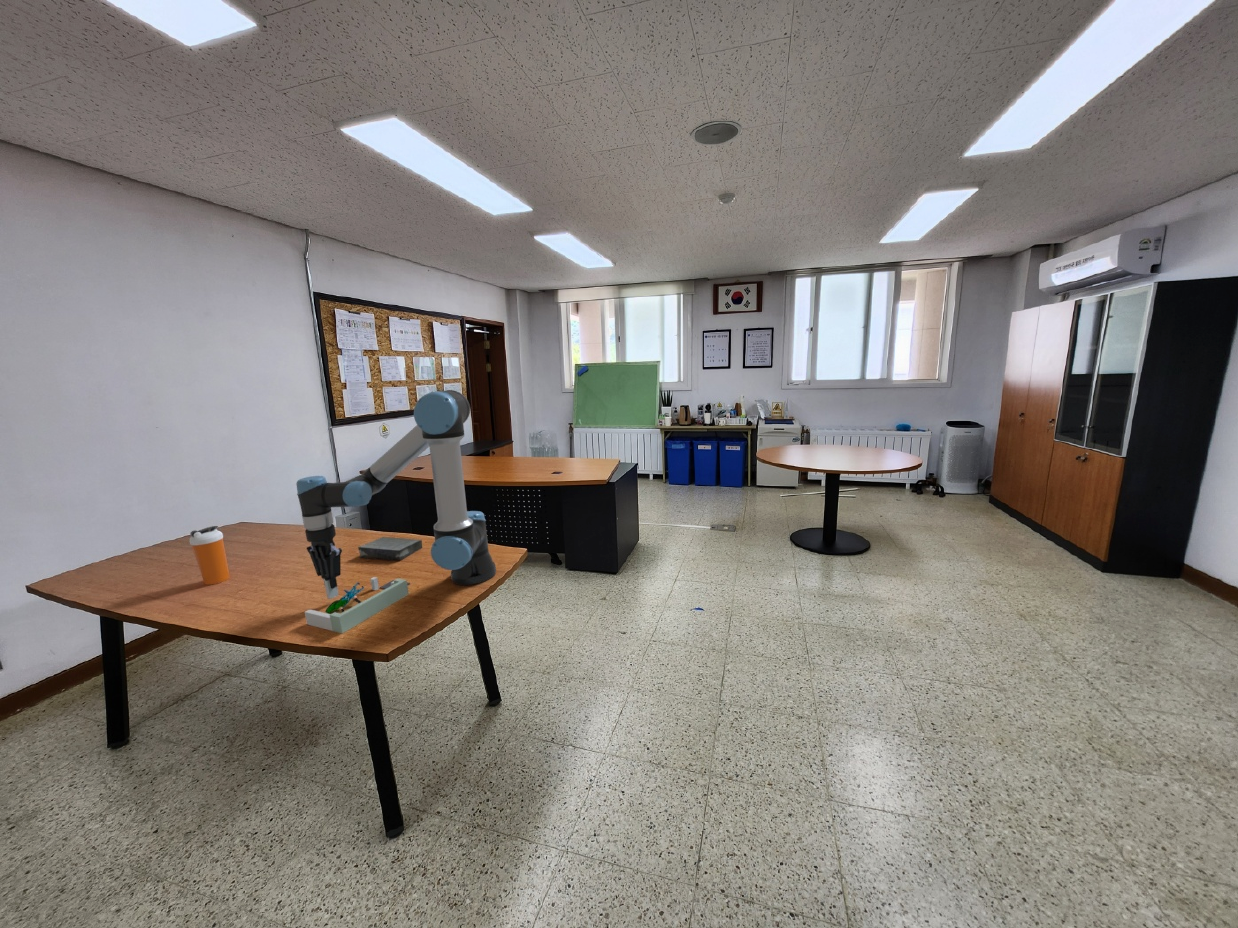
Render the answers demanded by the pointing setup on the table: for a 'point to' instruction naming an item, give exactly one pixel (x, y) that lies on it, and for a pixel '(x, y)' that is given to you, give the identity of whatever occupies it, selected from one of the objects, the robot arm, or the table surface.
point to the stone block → (390, 548)
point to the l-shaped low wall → (324, 619)
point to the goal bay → (369, 607)
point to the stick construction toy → (345, 600)
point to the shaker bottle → (210, 555)
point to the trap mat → (389, 585)
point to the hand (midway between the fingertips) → (333, 596)
